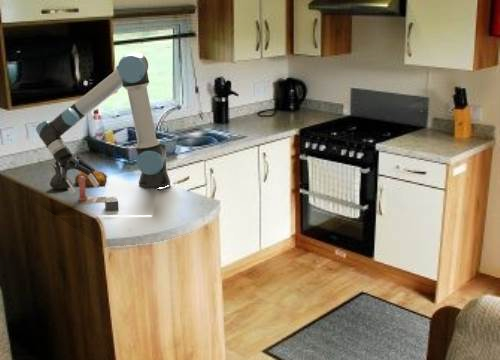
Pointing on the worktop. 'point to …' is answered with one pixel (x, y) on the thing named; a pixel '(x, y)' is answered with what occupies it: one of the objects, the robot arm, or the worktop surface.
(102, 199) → the track
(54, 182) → the stone
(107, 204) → the die
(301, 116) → the worktop surface
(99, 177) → the croissant
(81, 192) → the pawn
